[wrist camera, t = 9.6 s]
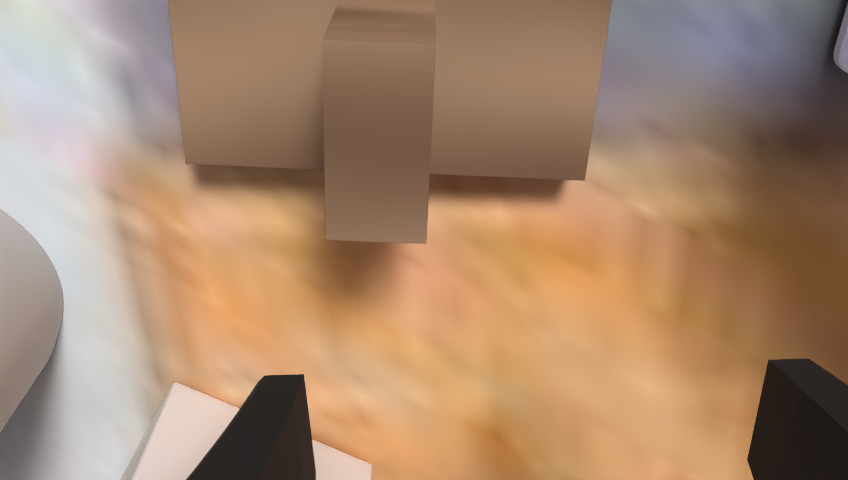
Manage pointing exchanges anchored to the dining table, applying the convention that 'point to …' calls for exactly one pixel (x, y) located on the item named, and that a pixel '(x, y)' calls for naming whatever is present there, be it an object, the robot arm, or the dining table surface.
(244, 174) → the dining table surface
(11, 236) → the lumpy-topped squat cylinder
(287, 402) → the robot arm
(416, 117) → the walnut strip
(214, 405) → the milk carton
